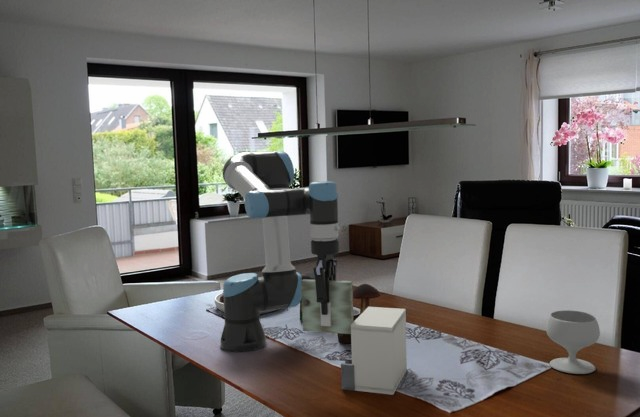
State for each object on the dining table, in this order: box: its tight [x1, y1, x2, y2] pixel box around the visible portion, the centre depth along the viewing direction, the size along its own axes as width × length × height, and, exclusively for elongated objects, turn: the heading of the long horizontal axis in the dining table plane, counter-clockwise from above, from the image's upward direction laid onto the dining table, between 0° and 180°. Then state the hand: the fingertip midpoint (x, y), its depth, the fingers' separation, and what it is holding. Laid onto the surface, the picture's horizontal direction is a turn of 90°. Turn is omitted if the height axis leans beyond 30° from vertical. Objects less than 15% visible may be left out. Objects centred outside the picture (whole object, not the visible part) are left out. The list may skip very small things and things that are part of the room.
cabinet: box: [350, 306, 408, 396], centre depth 160 cm, size 11×18×18 cm, turn 160°
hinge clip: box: [340, 357, 356, 392], centre depth 156 cm, size 4×6×9 cm
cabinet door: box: [301, 279, 354, 334], centre depth 156 cm, size 14×3×14 cm, turn 71°
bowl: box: [214, 292, 275, 315], centre depth 241 cm, size 30×30×8 cm
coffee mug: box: [336, 308, 360, 346], centre depth 194 cm, size 12×9×10 cm
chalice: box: [545, 309, 601, 375], centre depth 164 cm, size 14×14×15 cm
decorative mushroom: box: [353, 283, 381, 315], centre depth 211 cm, size 11×11×15 cm
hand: (327, 324), depth 157 cm, fingers closed on cabinet door, 2 cm apart
